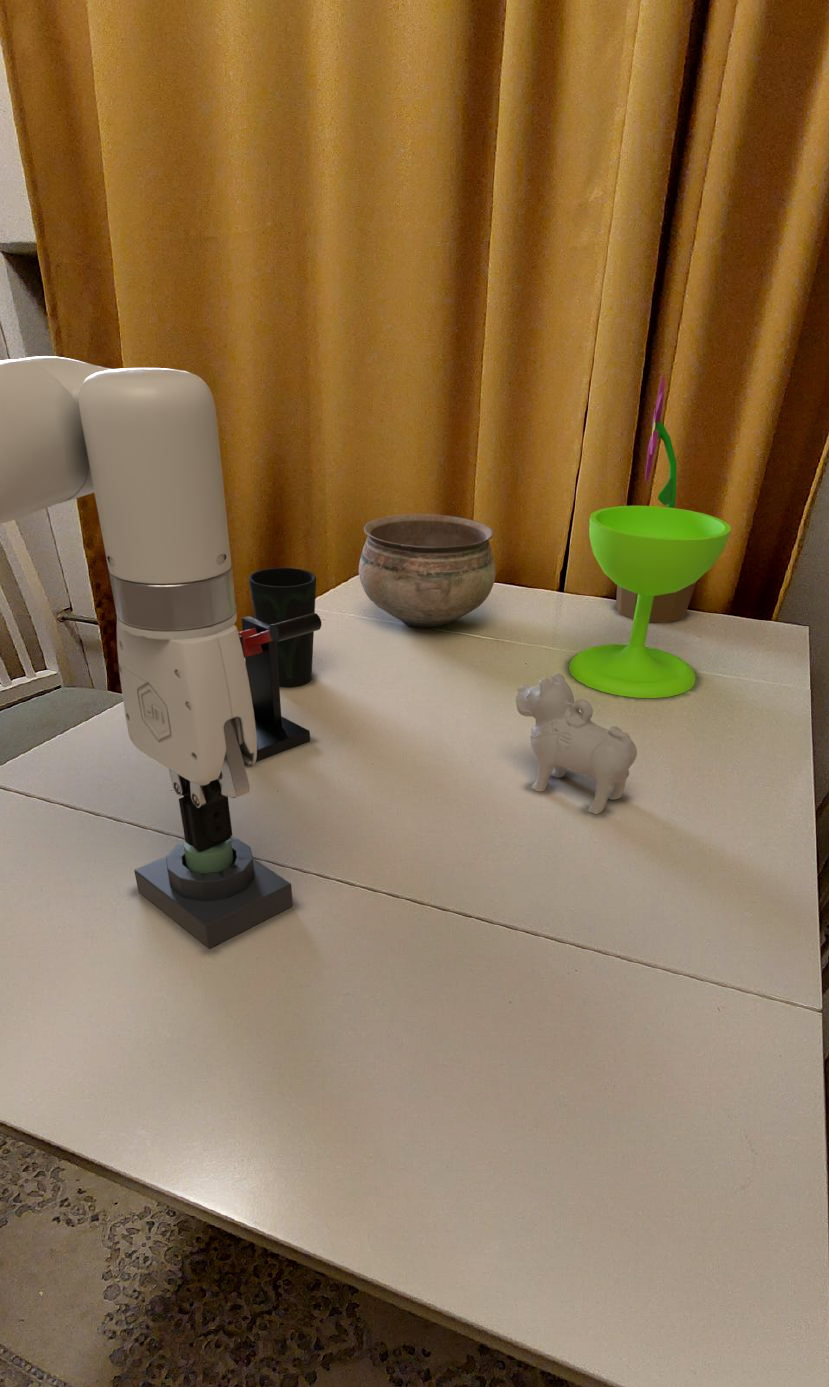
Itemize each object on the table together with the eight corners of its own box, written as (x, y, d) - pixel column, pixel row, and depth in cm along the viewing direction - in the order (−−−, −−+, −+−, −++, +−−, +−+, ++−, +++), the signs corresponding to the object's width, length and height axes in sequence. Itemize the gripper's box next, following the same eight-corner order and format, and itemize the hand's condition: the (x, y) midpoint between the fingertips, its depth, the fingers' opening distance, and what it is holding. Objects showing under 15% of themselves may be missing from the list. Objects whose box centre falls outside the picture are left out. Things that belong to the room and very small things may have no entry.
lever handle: (325, 632, 82) (317, 606, 81) (282, 645, 79) (274, 618, 78) (260, 653, 91) (252, 629, 90) (220, 664, 88) (211, 640, 87)
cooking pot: (505, 652, 116) (514, 555, 109) (363, 652, 115) (362, 554, 107) (478, 593, 136) (484, 508, 128) (356, 593, 134) (355, 507, 127)
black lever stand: (310, 740, 94) (305, 631, 86) (249, 764, 89) (238, 650, 82) (253, 711, 99) (244, 606, 92) (193, 731, 94) (179, 622, 87)
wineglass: (714, 669, 113) (751, 521, 102) (665, 709, 103) (699, 548, 92) (602, 641, 121) (625, 499, 110) (545, 675, 110) (564, 522, 99)
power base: (137, 892, 71) (129, 850, 68) (220, 855, 76) (215, 815, 73) (209, 949, 65) (203, 906, 63) (293, 906, 70) (290, 864, 68)
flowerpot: (603, 592, 138) (638, 369, 120) (696, 601, 136) (746, 374, 118) (600, 622, 127) (638, 380, 109) (702, 631, 125) (758, 386, 107)
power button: (177, 860, 68) (174, 841, 67) (215, 843, 70) (213, 824, 69) (203, 879, 66) (201, 860, 65) (242, 861, 68) (240, 842, 67)
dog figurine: (524, 759, 92) (536, 660, 85) (635, 798, 86) (656, 694, 79) (496, 777, 88) (505, 675, 82) (608, 819, 82) (628, 712, 76)
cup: (244, 677, 107) (234, 576, 99) (291, 661, 111) (286, 563, 104) (285, 696, 103) (278, 591, 95) (333, 678, 107) (330, 577, 100)
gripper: (63, 582, 58) (114, 821, 69) (191, 642, 50) (226, 903, 61) (162, 561, 62) (195, 790, 73) (294, 613, 54) (309, 862, 65)
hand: (209, 840), depth 67 cm, fingers closed
